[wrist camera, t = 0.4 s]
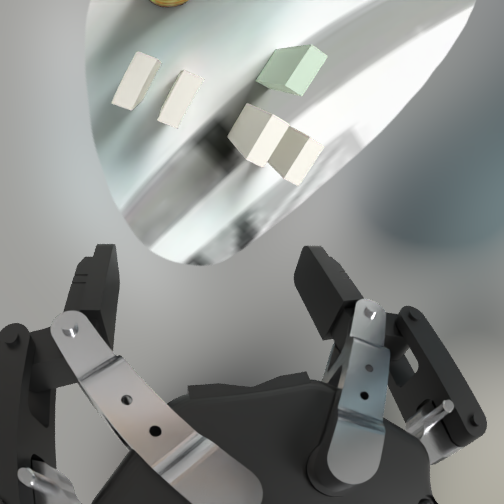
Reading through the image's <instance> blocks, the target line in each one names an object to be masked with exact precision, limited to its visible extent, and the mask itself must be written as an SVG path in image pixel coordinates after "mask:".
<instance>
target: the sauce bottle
mask: <svg viewBox="0 0 504 504" xmlns="http://www.w3.org/2000/svg"><path fill="white" fill-rule="evenodd" d="M150 1H151V2H152V3H154V4H155V5H158V6H160V7H176V6H178V5H182V4H184V3H186V2H187V1H188V0H150Z"/></svg>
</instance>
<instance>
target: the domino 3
mask: <svg viewBox="0 0 504 504" xmlns="http://www.w3.org/2000/svg"><path fill="white" fill-rule="evenodd" d="M289 125H290V124H289V123H287V122H285V121H284V120H282V119H280V118H278V117H277V116H275V115H273V114H271V113H269V112H267V111H265V110H262V109H260V108H258V107H255V106H253V105H251V104H248V103H246V105H245V106H244V108H243V110H242V112H241V113H240V115H239V117H238V118H237V120H236V122H235V123H234V125H233V127H232V129H231V130H230V132H229V134H228V136H227V137H228V139H229V140H230V141H231V142H232V143H233V145H234V146H235V147H236V148H237V149H238V151H239V152H240V153H241V154H242V155H243V157H244V158H245V159H246V160H248V161H250V162H252V163H254V164H256V165H258V166H260V167H262V168H264V166H265V165H266V163H267V161H268V160H269V158H270V156H271V155H272V153H273V151H274V150H275V148H276V147H277V145H278V143H279V142H280V140H281V138H282V137H283V135H284V133H285V132H286V130H287V129H288V127H289Z"/></svg>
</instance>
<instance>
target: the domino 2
mask: <svg viewBox="0 0 504 504" xmlns="http://www.w3.org/2000/svg"><path fill="white" fill-rule="evenodd" d="M204 80H205V79H204V78H201V77H199V76H197V75H195V74H193V73H190V72H188V71H186V70H182V71H181V72H180V74H179V76H178V77H177V79H176V81H175V83H174V85H173V87H172V88H171V90H170V92H169V94H168V96H167V98H166V100H165V102H164V104H163V106H162V108H161V110H160V113H159V116H158V119H157V121H159V122H162V123H164V124H167V125H169V126H172V127H174V128H176V129H178V127H179V125H180V123H181V121H182V119H183V118H184V116H185V114H186V112H187V110H188V108H189V106H190V104H191V103H192V101H193V99H194V97H195V95H196V94H197V92H198V90H199V88H200V86H201V85H202V83H203V81H204Z"/></svg>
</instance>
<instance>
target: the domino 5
mask: <svg viewBox="0 0 504 504" xmlns="http://www.w3.org/2000/svg"><path fill="white" fill-rule="evenodd" d="M323 148H324V146H323V145H322V144H320V143H318V142H317V141H315V140H314V139H312V138H311V137H309V136H307V135H305V134H304V133H302V132H300V131H298V130H296V129H294V128H292V127H291V126H289V127H288V129H287V130H286V132H285V133H284V135H283V137H282V138H281V140H280V142H279V143H278V145H277V147H276V148H275V150H274V151H273V153H272V155H271V156H270V158H269V160H268V161H267V162H268V163H269V164H270V165H271V166H272V167H273V168H274V169H275V170H276V171H277V172H278V173H279V174H280V175H281V176H282V177H283V178H284V179H286V180H288V181H289V182H291V183H293V184H295V185H297V186H299V185H300V184H301V182H302V181H303V179H304V178H305V176H306V175H307V173H308V171H309V170H310V168H311V167H312V165H313V164H314V162H315V161H316V159H317V157H318V156H319V154H320V153H321V151H322V150H323Z"/></svg>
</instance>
